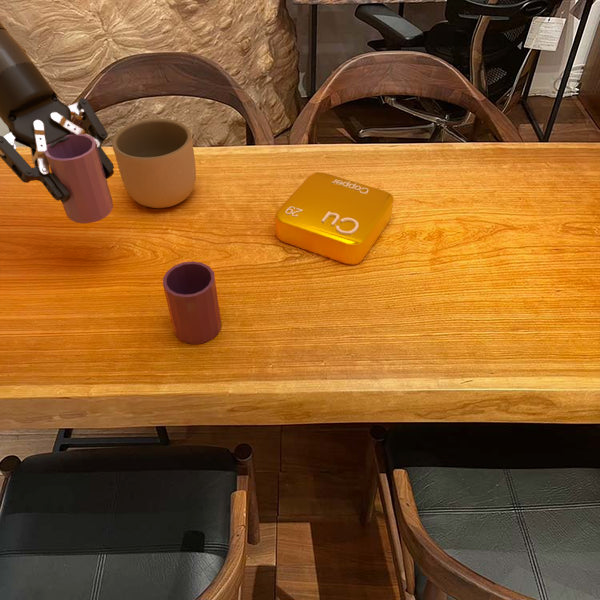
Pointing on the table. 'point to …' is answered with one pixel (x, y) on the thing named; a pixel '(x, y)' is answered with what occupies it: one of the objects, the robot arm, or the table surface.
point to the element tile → (334, 217)
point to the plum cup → (192, 302)
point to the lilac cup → (81, 178)
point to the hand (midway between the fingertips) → (89, 187)
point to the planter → (156, 161)
